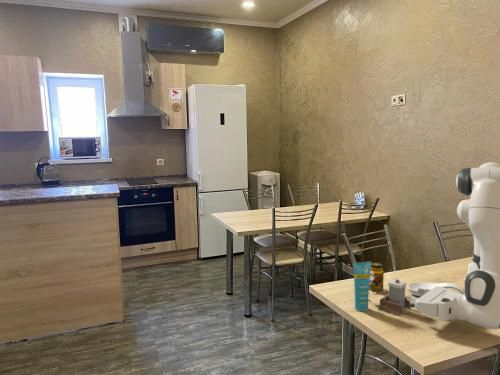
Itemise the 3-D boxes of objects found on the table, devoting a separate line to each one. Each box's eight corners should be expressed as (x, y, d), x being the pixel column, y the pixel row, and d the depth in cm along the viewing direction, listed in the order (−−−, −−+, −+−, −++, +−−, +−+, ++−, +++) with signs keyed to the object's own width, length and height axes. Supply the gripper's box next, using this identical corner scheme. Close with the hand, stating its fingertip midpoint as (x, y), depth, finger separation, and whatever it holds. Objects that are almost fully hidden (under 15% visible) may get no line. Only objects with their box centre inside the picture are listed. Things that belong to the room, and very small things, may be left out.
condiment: (375, 294, 163) (375, 267, 162) (362, 287, 171) (362, 262, 169) (388, 291, 166) (388, 265, 164) (374, 284, 174) (375, 259, 172)
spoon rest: (403, 296, 161) (404, 280, 160) (411, 287, 170) (411, 272, 169) (467, 310, 146) (467, 292, 145) (471, 300, 155) (472, 283, 155)
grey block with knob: (393, 305, 151) (394, 276, 150) (405, 309, 148) (406, 279, 146) (387, 309, 148) (388, 280, 147) (399, 313, 145) (400, 283, 143)
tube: (355, 312, 146) (356, 264, 144) (349, 307, 151) (350, 260, 148) (373, 310, 148) (373, 262, 145) (366, 305, 152) (367, 259, 150)
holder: (390, 302, 154) (390, 293, 154) (410, 308, 148) (410, 298, 148) (379, 309, 148) (380, 299, 148) (400, 315, 142) (400, 305, 142)
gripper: (462, 287, 139) (424, 278, 149) (442, 304, 125) (401, 293, 135) (462, 304, 140) (424, 294, 150) (441, 322, 126) (400, 310, 136)
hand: (413, 293), depth 142 cm, fingers open, 8 cm apart
